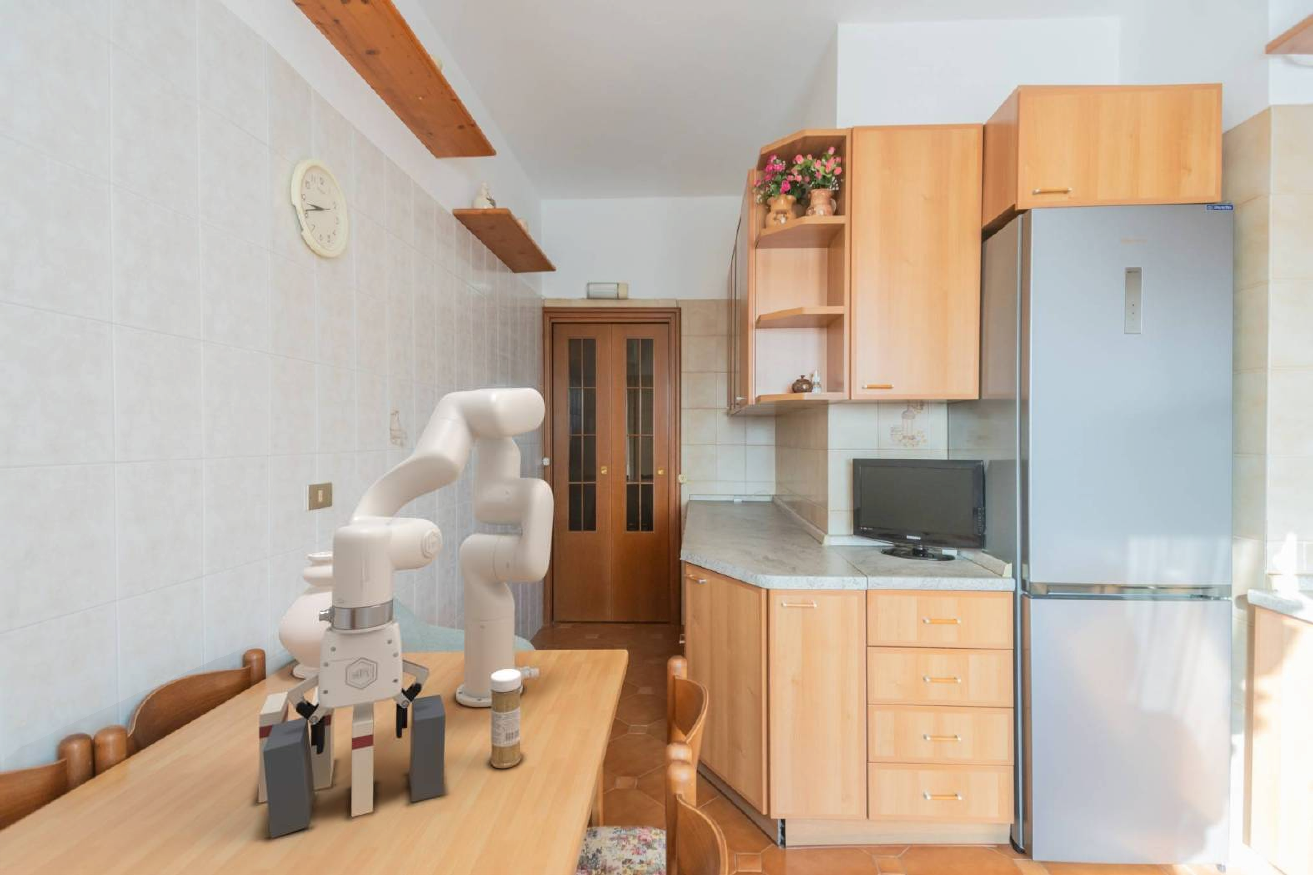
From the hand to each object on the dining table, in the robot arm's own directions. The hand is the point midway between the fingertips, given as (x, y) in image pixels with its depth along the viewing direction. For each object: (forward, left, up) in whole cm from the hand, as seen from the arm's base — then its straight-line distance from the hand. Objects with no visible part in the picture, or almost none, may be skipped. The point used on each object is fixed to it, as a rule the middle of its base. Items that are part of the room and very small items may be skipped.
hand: (360, 741), depth 78 cm
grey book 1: (+8, 0, -8) cm, 11 cm away
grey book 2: (-8, 0, -8) cm, 12 cm away
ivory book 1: (+11, -9, -8) cm, 17 cm away
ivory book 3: (0, 0, -8) cm, 8 cm away
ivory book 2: (+5, -9, -8) cm, 13 cm away
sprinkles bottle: (-20, -1, -8) cm, 22 cm away
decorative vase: (+8, -57, -8) cm, 58 cm away
